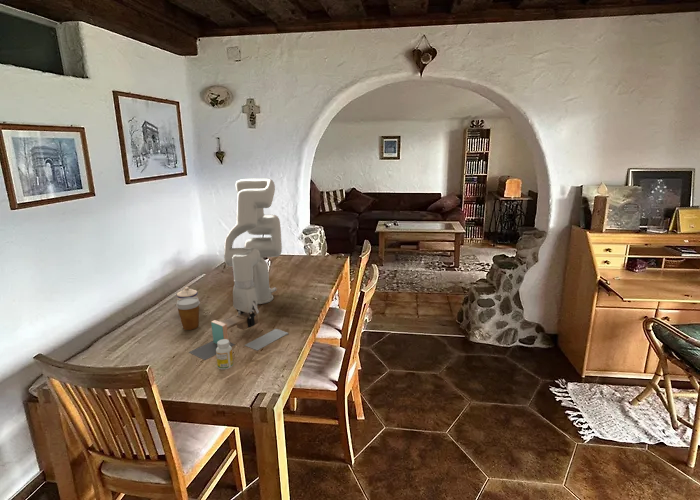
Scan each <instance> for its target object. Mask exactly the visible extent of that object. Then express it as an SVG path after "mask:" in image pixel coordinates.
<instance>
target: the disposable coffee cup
mask: <svg viewBox="0 0 700 500" xmlns="http://www.w3.org/2000/svg"><path fill="white" fill-rule="evenodd" d="M200 304H201V301H200V300H199V297H198V298H196V297H187V298H182V299H180V300H178V299H177V301H176V305H175V306H176V308H177V311H178V315H179V318H180V322H181V326H182V329H183V330H184V331H191V330H196V329H197V328H199V327H200V326H199V324H200V323H199V322H200V320H199V319H200Z"/></svg>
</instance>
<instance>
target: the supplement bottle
mask: <svg viewBox="0 0 700 500" xmlns="http://www.w3.org/2000/svg"><path fill="white" fill-rule="evenodd" d="M229 342H230V340H229V339H228V340H227V339H222V340H219V341H218V342H217V346H218V347H217V348H216V355H215V356H216V364H217V368H218V369H219V370H228V369H230V368H232V367H233V366H234V358H233V346H232V347H231V346H230V345H229V344H230V343H229Z"/></svg>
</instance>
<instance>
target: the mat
mask: <svg viewBox="0 0 700 500" xmlns="http://www.w3.org/2000/svg"><path fill="white" fill-rule="evenodd" d="M229 343H230V344H229V345H230V346H231V347H232V348H233V347H234V346H236V344H235V343H233V342H231V341H229ZM217 347H218V346H217V344H215V343H213V340H211V341H210V342H207V343H205V344H203V345H200V346H198V347H197V348H194V349H193V350H190V351H189V352H188V354H191V355H193V356H195V357H197V358H199V359H202V360H203V361H207V360H208V359H210V358H212V357H214V356H216V348H217Z"/></svg>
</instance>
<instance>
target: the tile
mask: <svg viewBox="0 0 700 500" xmlns="http://www.w3.org/2000/svg"><path fill="white" fill-rule="evenodd" d="M210 325H211V333H212V334H211V335H212V341H213V343H215V344H217V342H218V341H219V340H222V339H227V340H229V336H228V329H227V324H224V323H222V322H221V321H218V320H215V319H214V320H212V321H210Z"/></svg>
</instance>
